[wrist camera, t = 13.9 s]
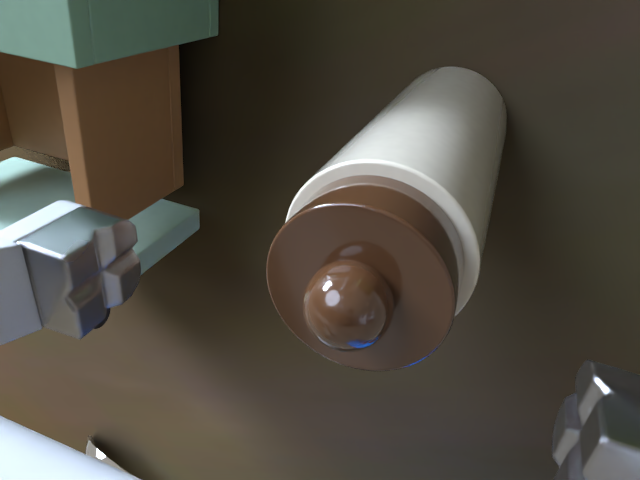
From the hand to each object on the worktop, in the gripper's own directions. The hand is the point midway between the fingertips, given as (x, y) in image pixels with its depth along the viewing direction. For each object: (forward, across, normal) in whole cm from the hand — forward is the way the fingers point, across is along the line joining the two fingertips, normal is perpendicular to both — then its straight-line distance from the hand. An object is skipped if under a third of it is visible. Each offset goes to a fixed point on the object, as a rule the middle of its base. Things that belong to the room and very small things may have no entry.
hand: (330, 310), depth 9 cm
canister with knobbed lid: (+14, 0, +1) cm, 14 cm away
